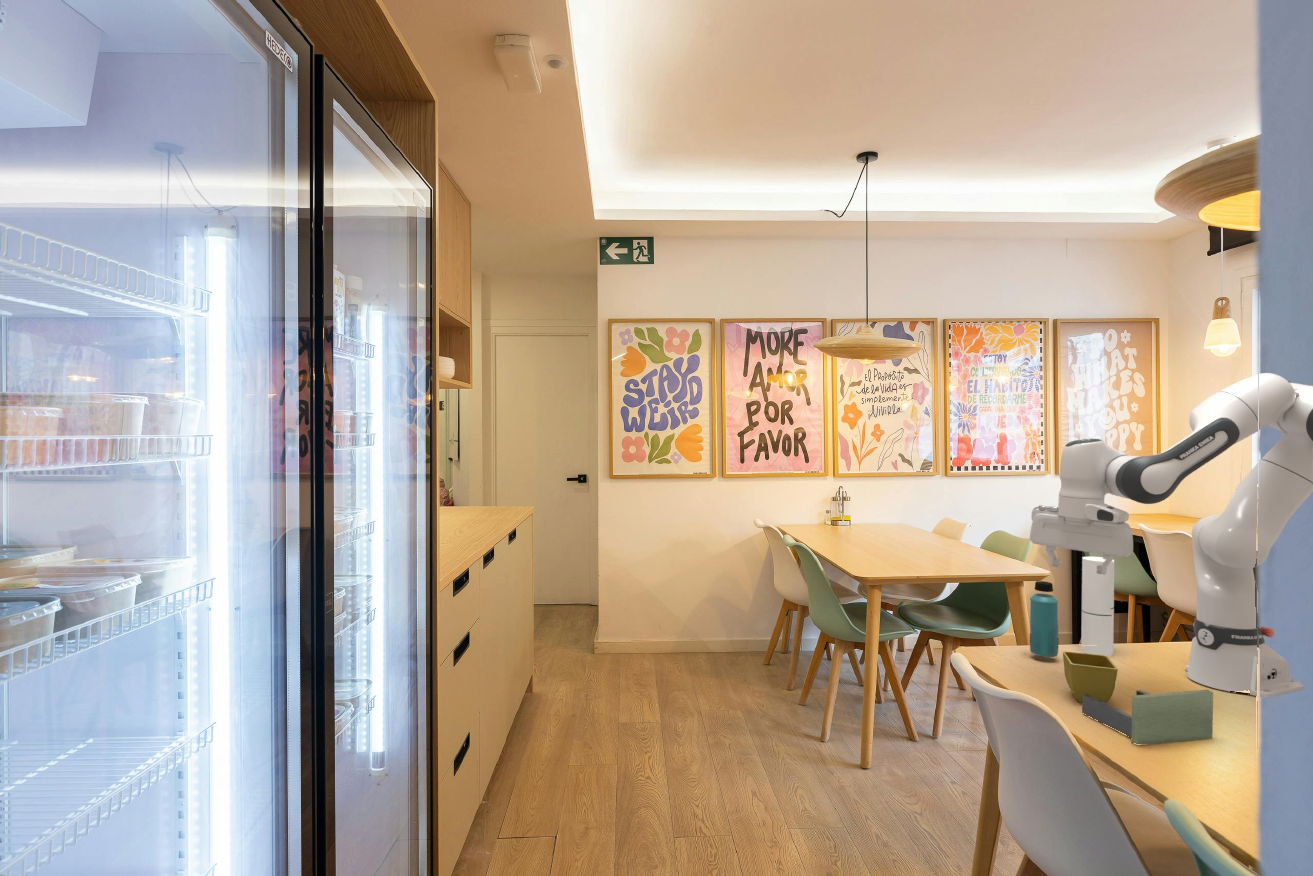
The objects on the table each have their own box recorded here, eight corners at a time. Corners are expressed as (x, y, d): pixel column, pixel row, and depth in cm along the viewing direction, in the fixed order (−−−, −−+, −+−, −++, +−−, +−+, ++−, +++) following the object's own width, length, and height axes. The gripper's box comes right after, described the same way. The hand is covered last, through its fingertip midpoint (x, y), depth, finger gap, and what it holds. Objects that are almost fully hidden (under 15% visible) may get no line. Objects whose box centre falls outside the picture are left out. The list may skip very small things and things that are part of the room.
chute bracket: (1146, 708, 143) (1146, 666, 143) (1212, 738, 129) (1213, 692, 129) (1076, 714, 140) (1077, 671, 140) (1137, 745, 126) (1137, 698, 126)
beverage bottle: (1062, 664, 170) (1063, 585, 170) (1033, 662, 171) (1034, 584, 171) (1052, 655, 176) (1053, 579, 176) (1025, 653, 178) (1026, 578, 177)
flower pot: (1118, 711, 142) (1118, 668, 142) (1070, 704, 145) (1070, 663, 145) (1106, 695, 150) (1106, 655, 150) (1061, 690, 153) (1061, 650, 153)
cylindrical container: (1118, 653, 178) (1119, 559, 178) (1106, 658, 174) (1107, 562, 174) (1088, 646, 184) (1089, 555, 184) (1076, 651, 180) (1077, 558, 180)
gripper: (1026, 505, 159) (1023, 563, 159) (1127, 516, 143) (1124, 580, 144) (1037, 503, 163) (1035, 560, 163) (1137, 514, 147) (1134, 577, 148)
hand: (1077, 569), depth 153 cm, fingers open, 8 cm apart
